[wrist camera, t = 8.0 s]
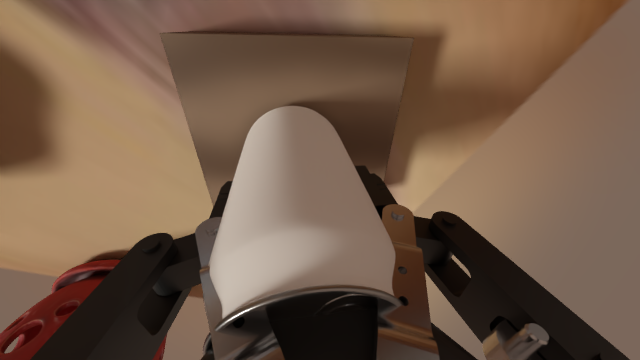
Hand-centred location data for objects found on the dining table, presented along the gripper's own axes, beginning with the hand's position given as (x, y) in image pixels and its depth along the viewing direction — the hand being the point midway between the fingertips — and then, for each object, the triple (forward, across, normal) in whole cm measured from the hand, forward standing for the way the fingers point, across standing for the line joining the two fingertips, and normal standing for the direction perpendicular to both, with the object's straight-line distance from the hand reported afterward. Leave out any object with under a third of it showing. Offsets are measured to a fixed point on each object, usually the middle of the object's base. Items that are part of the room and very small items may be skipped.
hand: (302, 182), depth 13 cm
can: (+4, 0, 0) cm, 4 cm away
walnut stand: (+8, 0, 0) cm, 8 cm away
